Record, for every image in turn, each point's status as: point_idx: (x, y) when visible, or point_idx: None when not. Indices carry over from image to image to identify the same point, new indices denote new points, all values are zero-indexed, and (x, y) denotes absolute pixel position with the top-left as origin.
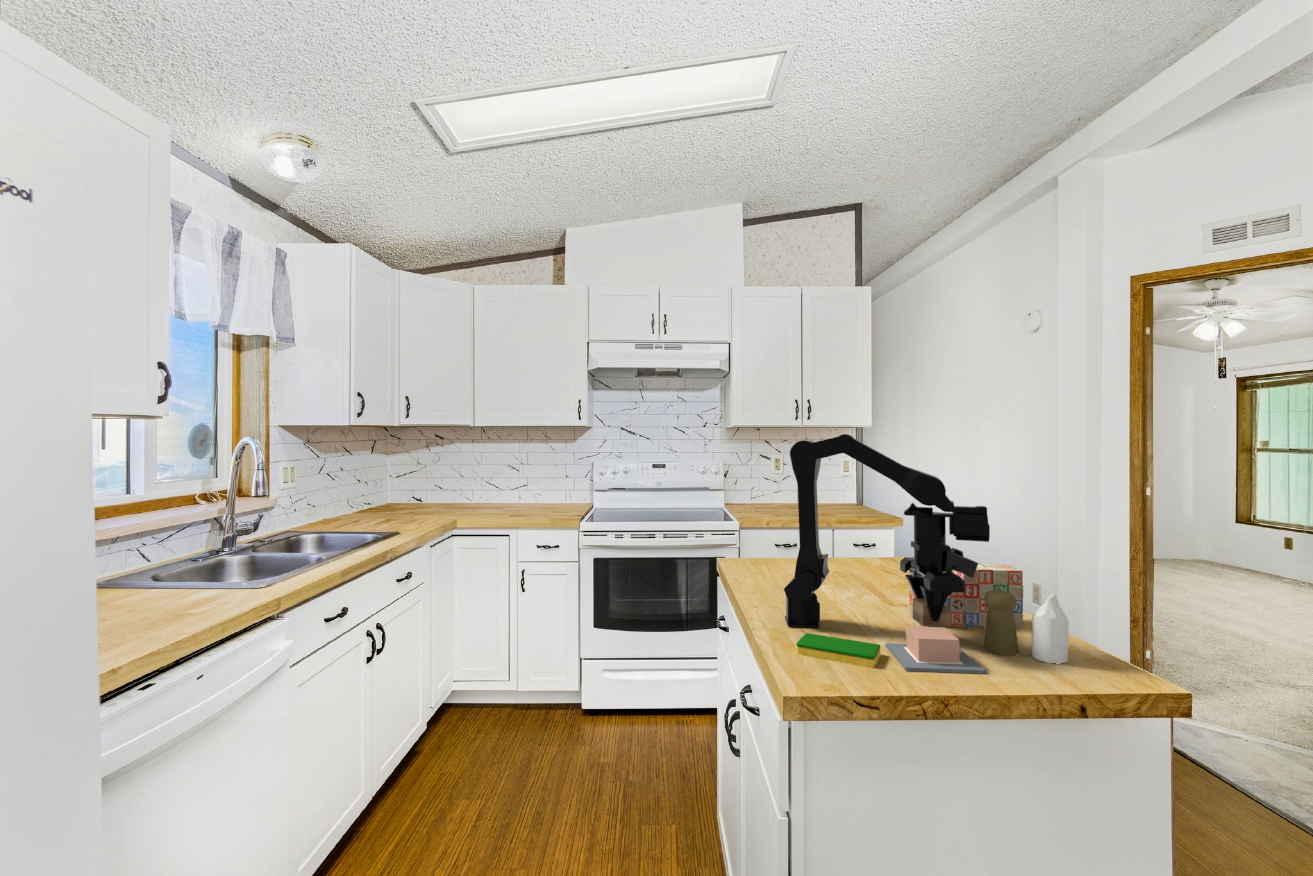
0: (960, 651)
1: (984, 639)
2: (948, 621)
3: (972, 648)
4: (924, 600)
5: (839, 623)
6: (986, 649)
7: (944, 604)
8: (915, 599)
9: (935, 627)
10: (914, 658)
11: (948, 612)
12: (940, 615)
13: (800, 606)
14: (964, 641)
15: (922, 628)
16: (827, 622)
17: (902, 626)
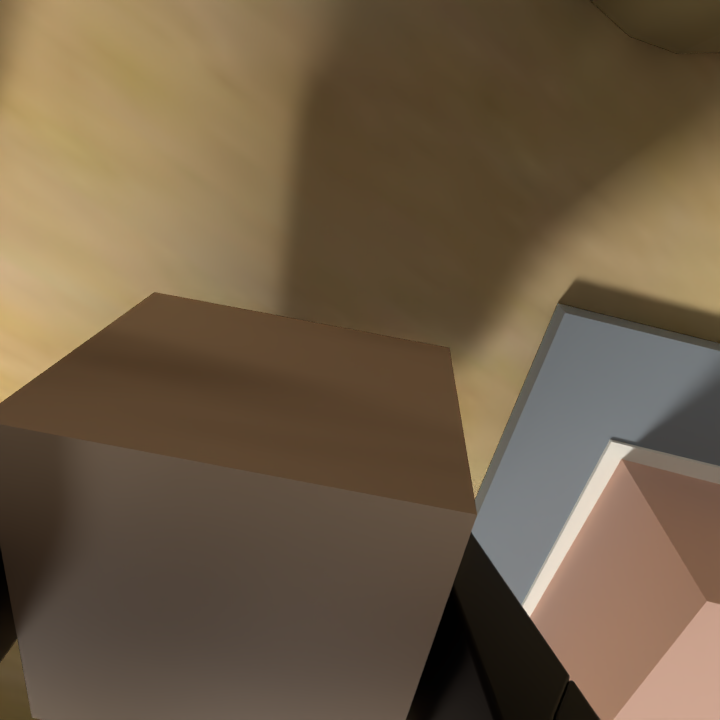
0: (699, 371)
1: (701, 13)
2: (451, 379)
3: (597, 153)
4: (123, 653)
5: (11, 676)
6: (709, 47)
7: (382, 533)
8: (75, 712)
9: (662, 660)
10: None
11: (463, 446)
12: (482, 548)
13: None
14: (408, 97)
15: None
16: (3, 711)
17: (11, 391)
